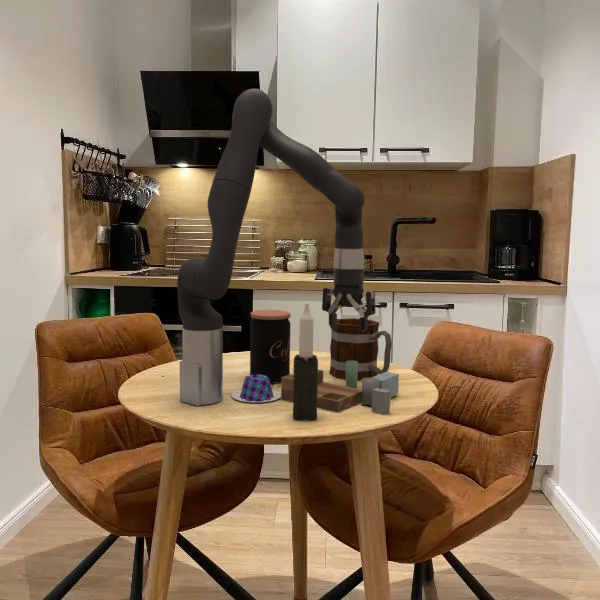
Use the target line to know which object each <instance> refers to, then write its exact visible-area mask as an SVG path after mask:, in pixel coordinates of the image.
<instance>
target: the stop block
mask: <svg viewBox="0 0 600 600" xmlns="http://www.w3.org/2000/svg"><path fill="white" fill-rule="evenodd" d="M372 411H373V413H376V412H378V413H377V414H381V413H382V415H388V414H389V413H390V411H391V397H390V390H385V389H379V388H375V389H373V390H372V405H371V412H372Z"/></svg>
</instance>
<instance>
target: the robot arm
mask: <svg viewBox="0 0 600 600" xmlns="http://www.w3.org/2000/svg"><path fill="white" fill-rule="evenodd" d="M272 117H273V105H272V101H271V99H270V97H269V95H268V94H267V93H265V92H264V91H263V90H262V89H259V88H249V89H246V90H244V91H243V92H242V93H240V94H239V96H238V97H237V98H236V99H235V102H234V106H233V110H232V116H231V122H232V123H231V128H230V134H229V137H228V140H227V144H226V146H225V148H224V150H223V152H222V155H221V158H220V160H219V163H218V166H217V169H216V171H215V174H214V177H213V180H212V183H211V186H210V190H209V194H208V198H207V210H208V211H207V212H208V216H209V222H210V224H211V232H212V235H211V243H210V247H209V251H208V253H207V257H206V258H201V257H191V258H188V259H186V260H185V261H183V262H182V264H181V265H180V267H179V269H178V273H177V279H176V280H177V283H176V284H177V300H178V302H177V303H178V313H179V317H180V319H181V322H182V360H180V361H179V401H180V402H182V403H187V404H190V405H193V406H197V407H199V406H202V405H203V406H204V405H205V406H206V405H211V404H217V403H219V402H221V401H222V400H223V399H224V398H223V397H224V395H223V393H224V392H223V387H224V385H223V381H224V380H223V378H224V377H223V374H224V373H223V372H224V371H223V363H224V362H223V359H224V358H223V354H224V353H223V347H224V345H223V344H224V343H223V342H224V341H223V337H224V336H223V334H224V332H223V331H224V330H223V329H224V322H223V316H222V314H220V313H219V312H218V311H217V310H215V309H214V308H213V306H212V304H211V301H215V300H216V301H217V300H219V299H222V298H223V296H225V294H226V293H227V291H228V290H229V287H230V285H231V284H230V283H231V280H232V275H233V270H234V263H235V256H236V252H237V246H238V241H239V237H240V232H241V228H242V225H243V221H244V217H245V214H246V210H247V208H248V204H249V199H250V196H251V194H252V188H253V184H254V179H255V174H256V168H257V161H258V154H259V150H260V148H262V149H263V150H265V151H267V152H268V153H269V154H271V155H272V156H274V157H276V158H277V159H278V160H279V161H280V162H282V163H283V164H285V165H286V166H287V167H288V168H290V169H291V170H292V171H294V173H296V174H297V175H298V176H299V177H300V178H302V179H303V180H304V181H305V182H306V183H307V184H308V185H310V187H312V188H313V189H314V190H316V191H318V192H319V193H320V194H323V196H325V197H326V199H328V200H329V201H330V203H332V204H333V205H334V213H335V215H334V216H335V231H334V233H335V234H334V254H333V285H334V287H333V288H332V287H331V286H330V287H324V288H323V289H322V300H321V303H322V304H321V310H322V311H324V312H326V313H327V314H328V326H329V329H331V328H333V329H334V328H336V327H337V319H338V314H337V313H336V312H338V310H339V309H340V307H348V308H354V309H353V310H355V311H356V312H357V313H358V315H359V316H360V317H359V318H358V319H359V332H365V331H366V330H367V328H368V320H369V317H370V316H373V315H375V314H376V292H375V290H370V291H365V290H364V288H363V287H364V282H365V281H364V275H365V274H364V271H365V269H364V268H365V267H364V266H365V262H364V261H365V257H364V229H363V226H362V224H363V223H362V219H363V207H364V205H365V201H366V199H365V194H364V192H363V190H362V189H361V188H360V187H358V185H356V184H355V183H354V182H352V181H351V180H350V179H349V178H348V177H346V176H344V175H343V174H342V173H340V172H339V171H338V170H337V169H336V168H335V167H334V165H332V164H331V163H329V161H327V160H326V159H325V157H323V156H321V155H320V154H319V153H318V152H316V150H314V149H313V148H310V147H309V146H307V145H305V144H303V143H302V142H299V141H297V140H295V139H293V138H291V137H290V136H288V135H286V134H285V133H284V132H282V131H281V130H280V129H279V128H278V127H277V125H275V124H274V122H273V121H272ZM333 296H334V298H335V299H334V300H333V301H332V297H333ZM363 298H364V300H365V303H364V301H363ZM210 300H211V301H210Z"/></svg>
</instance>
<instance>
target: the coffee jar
mask: <svg viewBox="0 0 600 600" xmlns="http://www.w3.org/2000/svg"><path fill="white" fill-rule="evenodd" d="M291 316H292V314H291V312H290V311H286V310H280V309H257V310H253V311H251V312H250V317H251V320H250V326H249V327H250V329H249V330H250V331H249V332H250V333H249V334H250V336H249V337H250V339H249V341H250V342H249V344H250V347H249V348H250V349H249V375H256V374H260V375H265V376H267V377H268V378H269V380H270V384H281V377H283V376H287V375H290V374H291V373H290V372H291V371H290V369H291V367H290V366H291V320H289V318H291Z"/></svg>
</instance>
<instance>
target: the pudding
mask: <svg viewBox="0 0 600 600" xmlns="http://www.w3.org/2000/svg"><path fill="white" fill-rule="evenodd" d="M271 384H272V383H270V380H269V378H268V377H267V376H265V375H260V374H256V375H250V374H249V375H246V376H245V377H244V379H243V383H242V386H241V389H239V390H236V391H234V392H232V393H231V398H233V399H234V400H236V401H240V402H245V403H250V402H253V403H268V402H273V401H277V400H279V399H281V391H277V390H275V389H272V386H271ZM239 395H240V396H239ZM238 396H239V398H241V399H239V398H238ZM244 399H245V400H246V401H245V400H244Z"/></svg>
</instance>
